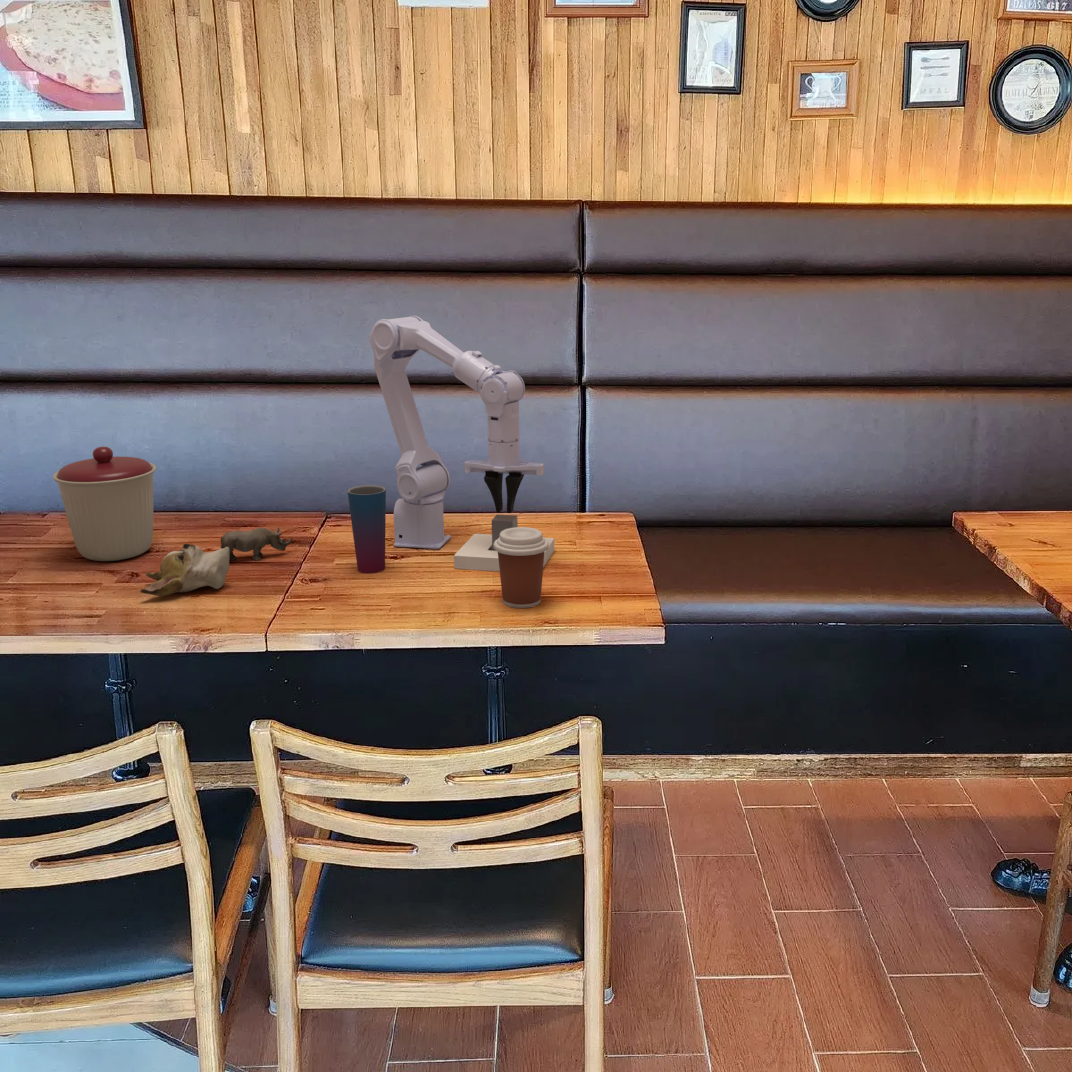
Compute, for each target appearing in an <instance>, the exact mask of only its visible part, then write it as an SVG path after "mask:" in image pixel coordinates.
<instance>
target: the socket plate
mask: <svg viewBox="0 0 1072 1072" xmlns="http://www.w3.org/2000/svg"><path fill="white" fill-rule="evenodd" d="M543 538H544V539H546V540H547V541H548V542H549V547H548V550H546V551H545V552H544V564H543V569H544V567H545V566H546V565H547V563H548V561H549V560H550V558H551V557H552V555H553V553H554V552H555V537H543ZM453 568H454V569H456V570H457V569H459V570H471V571H473V570H474V571H484V572H485V571H487V572H500V569H499V560H498V552H497V551H492V534H490V533H489V534H487V533H474V534H472V536H471V537H470V538H469V539H468V540H467V541H466V542H465V543H464V544H463V545H462V546H461V547H460V548H459V549H458V550H457V552H455V553H454V555H453Z"/></svg>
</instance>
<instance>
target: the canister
mask: <svg viewBox="0 0 1072 1072" xmlns="http://www.w3.org/2000/svg"><path fill="white" fill-rule="evenodd" d="M92 457H93V458H87V459H83V460H78V461H74V462H72V463H69V464H66V465H65V466H64V465H63V466H62V467H61V468H60V469H59V470H58V471H56V472H54V474H53V475H52V479H53V480H54V481H55V482H56V483H57V485H58V489H59V492H60V497H61V501H62V503H63V507H64V511H65V514H66V518H67V522H68V524H69V525H68V526H69V528H70V531H71V535H72V538H73V542H74V544H75V548H76V550H77V552H78V553H79V554H80V555H81V556H82V557H83V558H85V559H87V560H90V561H95V562H96V561H97V562H114V561H115V562H116V561H122V560H126V559H131V558H135V557H139V556H141V555H142V554H143V553H145V552H147V551H148V550H149V549H150V547H151V546H152V543H153V536H154V473H155V472H156V471H157V466H156V465H155V464H154V463H151V462H148V460H145V459H142V458H140V457H133V456H114V451H113V450H112V448H110V447H108V446H98V447H96V448H94V450H93V451H92Z"/></svg>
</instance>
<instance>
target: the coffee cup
mask: <svg viewBox="0 0 1072 1072" xmlns="http://www.w3.org/2000/svg"><path fill="white" fill-rule="evenodd" d="M544 538H545V537H544V536H543V532H542V531H541V530H540V529H537V528H534V527H527V526H518V527H515V528H509V529H505V530H503V531H501V533H500V537H499V538H498V539H497V540H495V542H494V544H493V548H494V549H495V550H496V551H497V552H498V560H499V569H500V571H499V578H500V585H501V586H500V588H501V597H502V603H503V604H504V605H505V607H508V608H513V609H529V608H534V607H537V606H539V604H540V605H541V602H542V587H543V576H544V575H543V573H544V568H543V564H544V552H545V551H546V550H548V547H549V542H548V541H547V540H546V539H544Z"/></svg>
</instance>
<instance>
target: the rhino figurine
mask: <svg viewBox="0 0 1072 1072" xmlns="http://www.w3.org/2000/svg"><path fill="white" fill-rule="evenodd" d="M282 535H283V532H280V527H278V528H277V529H276V530H274V531H273V530H271V529H269V528H265V527H256V528H254V529H252V530H245V531H244V530H238V529H237V530H232V531H230V530H229V531H227V532H225V533H224V534H223V535H222V536H221V538H220V549H223V548H225V547H229V556H230V558H229V561H233V560H237V555H235V554H234V550H236V551H239V552H244V553H247V552H250V551H253V552H252V553H253V554H252V555H253V556H252V559H253V560H254V561H256V562H257V561H261V560H262V558H261V557H264V553H262V549H263V548H265V547H266V546H269V545H270V546H271V548H273V549H274V550H278V551H283V552H284V551H286V548H287V546H288V545H290V544H291V543H292V541H293V537H291V538H290V539H289V540H286V539H287V538H286V537H284V538H281V536H282Z"/></svg>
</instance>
